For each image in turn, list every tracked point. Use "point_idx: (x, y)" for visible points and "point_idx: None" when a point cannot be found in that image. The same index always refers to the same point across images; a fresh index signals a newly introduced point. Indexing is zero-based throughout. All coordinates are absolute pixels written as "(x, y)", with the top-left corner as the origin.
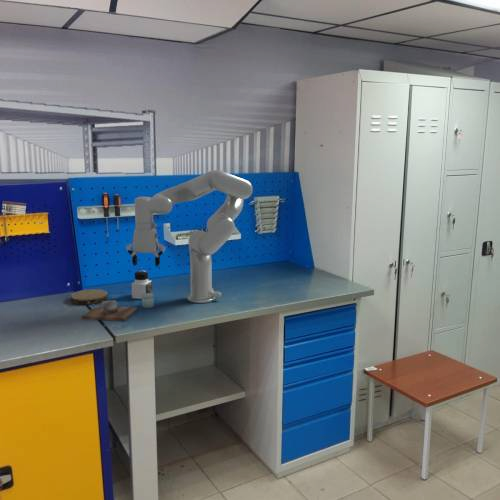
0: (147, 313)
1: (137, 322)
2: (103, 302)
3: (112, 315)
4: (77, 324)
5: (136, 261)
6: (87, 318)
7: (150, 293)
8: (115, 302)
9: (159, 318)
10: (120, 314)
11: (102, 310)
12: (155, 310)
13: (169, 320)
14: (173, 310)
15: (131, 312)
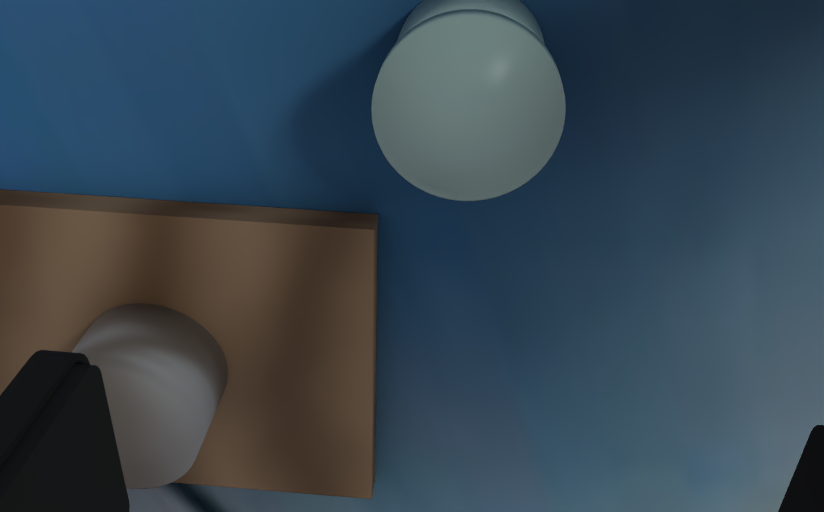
0: (525, 305)
1: (490, 500)
2: None
3: (233, 448)
4: None
5: (62, 503)
6: None
7: (492, 24)
8: (181, 431)
9: (671, 420)
10: (293, 425)
11: (63, 336)
12: (596, 214)
13: (772, 459)
14: (816, 202)
15: (373, 367)
